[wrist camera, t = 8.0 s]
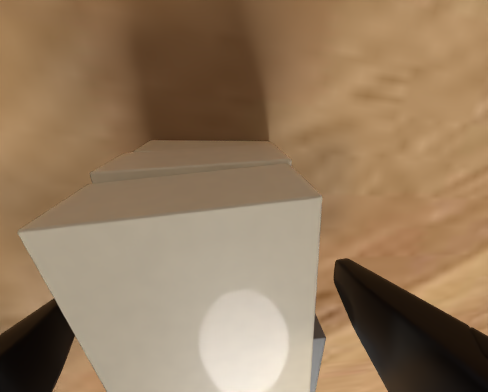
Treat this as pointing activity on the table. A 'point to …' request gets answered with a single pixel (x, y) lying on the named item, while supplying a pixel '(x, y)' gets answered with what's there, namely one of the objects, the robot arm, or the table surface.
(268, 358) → the cream rectangular block
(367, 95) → the table surface
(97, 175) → the beige block
